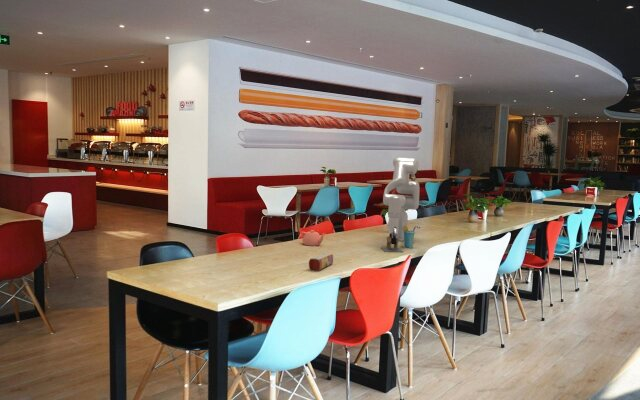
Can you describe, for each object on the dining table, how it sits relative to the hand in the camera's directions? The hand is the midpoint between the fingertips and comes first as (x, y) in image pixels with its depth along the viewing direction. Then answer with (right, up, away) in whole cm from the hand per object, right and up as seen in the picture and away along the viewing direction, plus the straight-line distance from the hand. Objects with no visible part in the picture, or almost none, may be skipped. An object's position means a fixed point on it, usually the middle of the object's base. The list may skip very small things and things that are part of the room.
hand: (392, 243), depth 359 cm
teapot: (-51, -2, +6) cm, 51 cm away
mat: (0, -4, 0) cm, 4 cm away
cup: (+13, -4, +13) cm, 18 cm away
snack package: (-46, -9, -58) cm, 74 cm away
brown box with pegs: (0, -3, 0) cm, 3 cm away
